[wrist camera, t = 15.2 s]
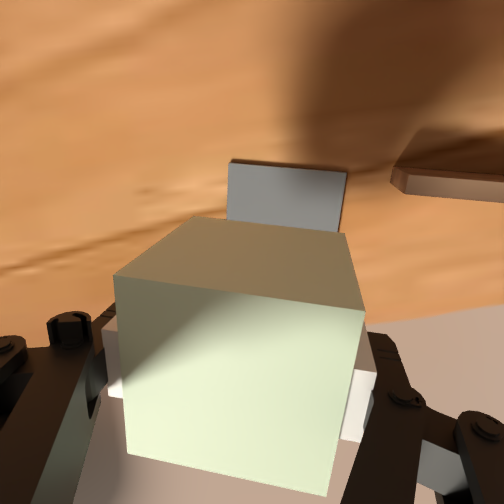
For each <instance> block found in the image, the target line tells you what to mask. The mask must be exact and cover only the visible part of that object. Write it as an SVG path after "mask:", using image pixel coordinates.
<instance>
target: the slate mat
mask: <svg viewBox="0 0 504 504" xmlns="http://www.w3.org/2000/svg"><path fill="white" fill-rule="evenodd" d="M346 174H347V173H346V172H338V171H326V170H314V169H302V168H290V167H278V166H266V165H254V164H242V163H229V165H228V194H227V220H234V221H243V222H252V223H260V224H269V225H278V226H286V227H295V228H304V229H312V230H321V231H330V232H337V231H338V225H339V219H340V212H341V206H342V200H343V193H344V187H345V181H346Z"/></svg>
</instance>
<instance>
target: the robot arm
mask: <svg viewBox="0 0 504 504" xmlns="http://www.w3.org/2000/svg"><path fill="white" fill-rule="evenodd" d="M46 324H47V329H48V335H49V341H50V346H49V347H38V348H27V345H26V340H25V339H24V338H23V337H21V336H16V335H12V336H3V337H0V504H73V500H74V497H75V493H76V490H77V485H78V482H79V478H80V475H81V472H82V468H83V464H84V461H85V457H86V453H87V450H88V447H89V443H90V439H91V436H92V432H93V428H94V425H95V421H96V418H97V414H98V411H99V407H100V403H101V395H100V391H101V390H102V389H103V387H104V386H105V385H106V384H108V394H109V396H113V397H118V398H123V391H122V379H121V367H120V354H119V342H118V330H117V317H116V305H115V303H113V304H112V305H111V306H110V307H109V308H107V309H106V311H104V312H103V313H102V314H101V315H100V316H98V317H97V318H96V319H95V320H94V321H93V322H92V323H91V316H90V315H89V314H88V313H85V312H80V311H72V312H65V313H62V314H59V315H56V316H55V317H53V318H51V319H50V320H49V321H48V322H47V323H46ZM363 430H364V434H363ZM362 435H363V437H362ZM338 439H344V440H349V441H354V442H360V446H359V449H358V452H357V455H356V458H355V461H354V464H353V467H352V470H351V473H350V476H349V479H348V482H347V485H346V488H345V491H344V494H343V497H342V500H341V503H340V504H414V498H415V491H416V483H420V484H422V485H424V486H426V487H428V488H430V489H432V490H434V492H435V497H436V501H437V504H504V424H502V423H501V422H500V421H498V420H497V419H495V418H493V417H491V416H490V415H487V414H484V413H481V412H478V411H465V412H462V413H461V414H460V416H459V417H458V419H454V418H452V417H449V416H447V415H444V414H442V413H439V412H437V411H435V410H433V409H431V408H429V407H428V406H426V401H425V400H424V398H423V397H422V395H421V394H420V393H419V392H417V391H416V390H415V389H414V388H412V387H411V386H410V383H409V380H408V377H407V375H406V372H405V369H404V366H403V364H402V362H401V358H400V356H399V354H398V350H397V347H396V345H395V343H394V342H393V341H392V340H391V339H390V338H389V336H388V335H387V334H380V333H373V332H367V331H366V326H365V322H364V321H363V326H362V331H361V335H360V340H359V345H358V349H357V354H356V359H355V363H354V368H353V373H352V377H351V382H350V387H349V392H348V396H347V401H346V406H345V410H344V415H343V420H342V424H341V429H340V434H339V438H338ZM361 439H362V440H361Z"/></svg>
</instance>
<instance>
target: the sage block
mask: <svg viewBox="0 0 504 504" xmlns="http://www.w3.org/2000/svg"><path fill="white" fill-rule="evenodd" d="M113 280H114V293H115V305H116V317H117V330H118V342H119V354H120V367H121V379H122V391H123V402H124V415H125V428H126V441H127V453H129V454H133V455H138V456H142V457H147V458H152V459H156V460H161V461H165V462H170V463H174V464H179V465H183V466H188V467H193V468H197V469H201V470H206V471H211V472H215V473H220V474H224V475H229V476H234V477H238V478H243V479H247V480H252V481H256V482H261V483H265V484H270V485H275V486H279V487H283V488H288V489H292V490H297V491H302V492H306V493H311V494H315V495H320V496H324V497H326V494H327V490H328V485H329V481H330V476H331V471H332V466H333V462H334V457H335V452H336V448H337V443H338V438H339V434H340V429H341V424H342V420H343V415H344V410H345V406H346V401H347V396H348V392H349V387H350V382H351V377H352V373H353V368H354V363H355V359H356V354H357V349H358V345H359V340H360V335H361V331H362V326H363V321H364V317H365V312H366V311H365V307H364V304H363V300H362V296H361V292H360V289H359V285H358V281H357V278H356V274H355V270H354V266H353V263H352V259H351V255H350V252H349V248H348V244H347V240H346V237H345V233H339V232H330V231H321V230H312V229H304V228H295V227H286V226H278V225H269V224H260V223H252V222H243V221H234V220H225V219H217V218H208V217H199V216H193V217H192V218H190V219H189V220H187V221H186V222H185V223H183V224H182V225H181V226H179V227H178V228H177V229H175V230H174V231H172V232H171V233H170V234H168V235H167V236H166V237H164V238H163V239H161V240H160V241H159V242H157V243H156V244H155V245H153V246H152V247H151V248H149V249H148V250H146V251H145V252H144V253H142V254H141V255H140V256H138V257H137V258H136V259H134V260H133V261H131V262H130V263H129V264H127V265H126V266H125V267H123V268H122V269H120V270H119V271H118V272H116V273H115V274H114V275H113Z"/></svg>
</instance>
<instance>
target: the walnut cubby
mask: <svg viewBox="0 0 504 504" xmlns="http://www.w3.org/2000/svg"><path fill="white" fill-rule="evenodd" d="M390 183H391V184H392V185H394V186H395V187H396V188H398V189H399V190H400V191H401V192H403V193H404V194H409V195H420V196H431V197H442V198H453V199H465V200H476V201H487V202H498V203H504V175H496V174H484V173H471V172H459V171H446V170H434V169H421V168H408V167H396V166H393V171H392V176H391V181H390Z"/></svg>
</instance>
